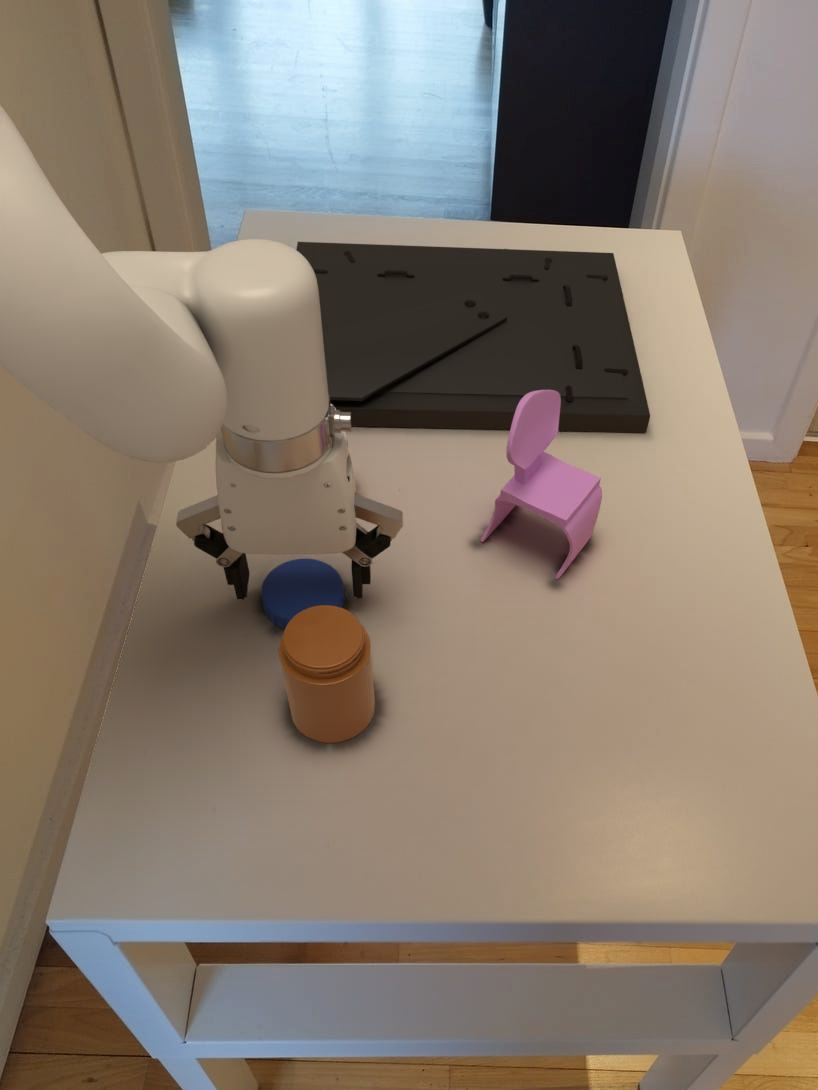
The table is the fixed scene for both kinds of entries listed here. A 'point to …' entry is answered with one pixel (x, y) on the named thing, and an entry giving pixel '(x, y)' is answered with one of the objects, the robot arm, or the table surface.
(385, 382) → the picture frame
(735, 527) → the table surface
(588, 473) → the toy chair
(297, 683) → the jar
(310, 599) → the jar lid
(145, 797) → the table surface
